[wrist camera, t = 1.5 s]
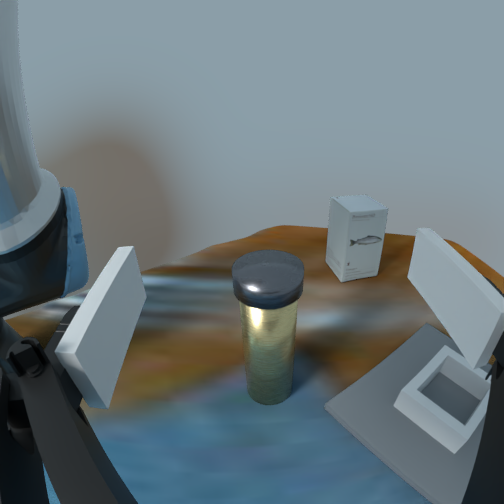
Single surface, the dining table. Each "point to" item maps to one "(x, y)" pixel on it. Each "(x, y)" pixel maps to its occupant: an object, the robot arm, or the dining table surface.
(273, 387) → the lidded glass jar
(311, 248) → the dining table surface
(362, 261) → the supplement box
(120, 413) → the dining table surface
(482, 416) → the socket plate
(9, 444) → the robot arm
